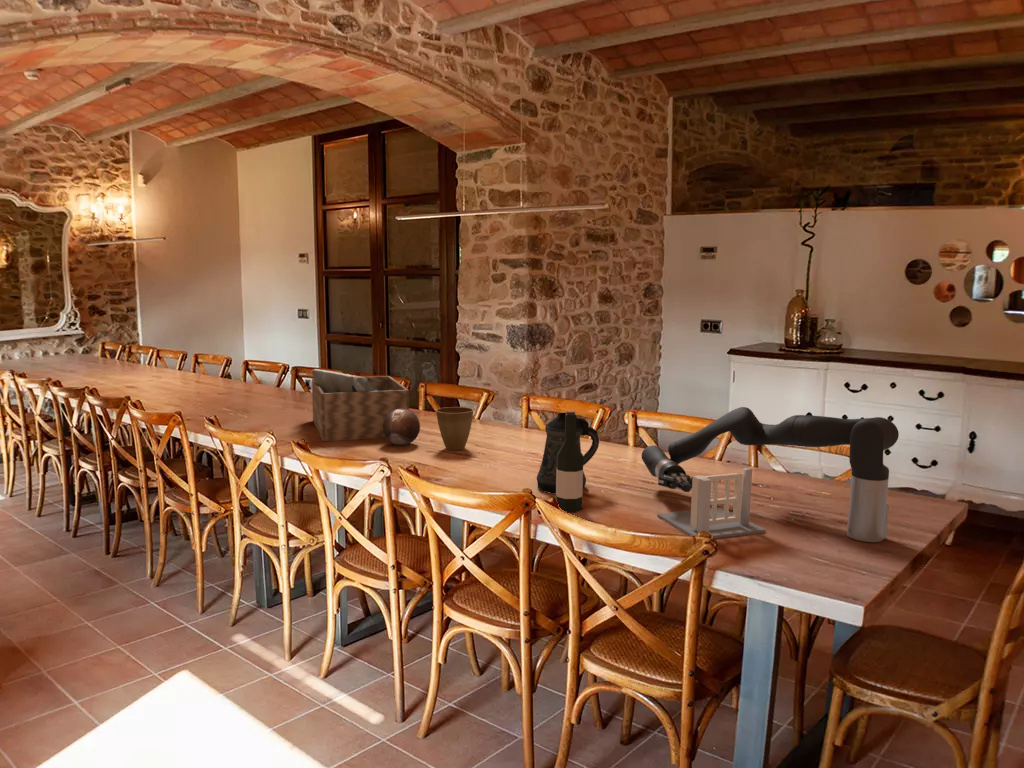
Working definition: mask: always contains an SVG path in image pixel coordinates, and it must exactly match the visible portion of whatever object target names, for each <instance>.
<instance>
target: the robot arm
mask: <svg viewBox="0 0 1024 768" xmlns="http://www.w3.org/2000/svg"><path fill="white" fill-rule="evenodd" d="M728 432H729V433H730V434H731V436H732V437H733V438H734V440H735V441H736V442H737V443H739V444H740V445H742V446H765V445H767V446H769V445H772V446H773V445H776V446H794V447H804V448H824V447H825V448H826V447H835V446H849V460H848V461H849V465H850V468H851V476H850V487H849V488H850V489H849V490H850V491H849V504H848V515H847V518H848V519H847V529H846V535H847V537H849V538H850V539H852V540H855V541H859V542H865V543H880V542H882V541H883V540H885V539H887V534H888V524H889V511H890V505H889V504H888V503H887V500H888V499H887V498H888V490H889V489H888V488H889V479H890V469H889V467H888V466H886V465H885V464H884V451H886V450H888V449H891V448H893V446H894V445H895V444H896V443H897V441H898V439H899V433H900V432H899V430H898V427H897V426H896V424H895V423H893V422H892V421H891V420H890V419H888V418H885V417H883V416H882V417H879V416H875V417H869V418H865V417H864V418H842V417H841V418H840V417H831V416H823V415H822V416H820V415H808V414H805V415H804V414H795V415H792V416H789V417H787V418H785V419H784V420H782V421H781V422H780V423H777V424H766V423H762V422H760V420H759V419H758V417H756V415H755V413H754V412H753V411H752V410H751V409H750V408H749V407H746V406H745V407H744V406H741V407H737V408H735V409H733V410H731V411H728V412H727V413H725V414H724V415H722V416H721V417H719V418H718V419H715V420H714V421H712V422H711V423H709V424H708V425H706V426H704V427H702V428H701V429H699V430H697V431H696V432H694V433H692V434H689V435H688V436H684V437H683V438H680V439H678V440H675V441H673V442H671V443H669V445H668V446H667V451H668V454H669V457H670V458H669V457H668V456H667V455H666V453H665V452H664V450H663V449H662V448H661V447H660V446H658V445H648V446H646V447H645V448H644V449H643V450H642V452H641V460H642V461H643V464H644V466H645V467H646V468H647V470H648V472H649V473H650V475H651V476H652V477H654V478H657V483H658V484H657V485H658V486H661V487H665V488H667V489H670V490H675V489H678V490H681V491H683V492H684V493H689V492H690V491H692V479H693V476H692V477H691V476H690V475H689V474H687V473H686V471H685V469H684V468H683V467H682V466H681V465H680V464H681V463H684V462H687V461H688V460H691V459H693V458H696V457H698V456H699V455H701V454H702V453H704V452H705V450H706V449H707V448H708V447H709V446H710V444H711V443H712V442H713V440H715V439H716V438H717V437H718V436H720V435H722V434H725V433H728Z"/></svg>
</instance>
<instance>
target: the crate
mask: <svg viewBox="0 0 1024 768" xmlns="http://www.w3.org/2000/svg"><path fill="white" fill-rule="evenodd" d="M364 377H365V378H367V377H368V378H369V380H370V384H371V385H372V387H373V388H374V390H377V391H367V392H342V393H324V392H323V391H322V389H321V388H320V386H319V385H318V384H316V383H315V382H314V380H313V378H311V389H312V391H311V398H312V399H311V400H312V422H313V424H314V426H315V429H316V431H317V432H318V435H319V436H320V439H321V441H322V442H332V441H333V442H335V441H348V440H350V441H351V440H366V439H367V440H368V439H383V438H386V436H385V434H384V431H383V423H384V420H385V418H386V416H387V415H388V414H389V413H390V412H391V411H393V410H395V409H400V408H403V409H408V410H410V398H409V397H410V395H409V394H410V393H409V389H408V388H407V387H405V386H404V385H402V384H401V383H400V382H398V381H397V380H396V379H395V378H394V377H391V376H390V375H378V376H377V375H375V376H364ZM389 390H391V391H389Z"/></svg>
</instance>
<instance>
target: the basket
mask: <svg viewBox="0 0 1024 768" xmlns="http://www.w3.org/2000/svg"><path fill="white" fill-rule="evenodd" d="M365 377H367V378H365ZM368 377H369V376H358V375H354V374H353V375H352V374H349V373H348V374H347V373H343V372H339V371H332V370H326V369H319V368H314V369H312V379H313V380H314V382H315V383H316V384H318V385H319V386H320V388H321V389H322V391H323V392H324V393H342V392H367V391H377V390H374V388H373V387H372V385H371V384H370V380H369V378H368ZM389 391H391V390H389Z"/></svg>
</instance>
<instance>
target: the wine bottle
mask: <svg viewBox="0 0 1024 768" xmlns="http://www.w3.org/2000/svg"><path fill="white" fill-rule="evenodd" d="M566 413H567V414H565V442H564V443H563V445H562V446H561V448H560V450H559V451H558V453H557V468H556V494H555V501H556V500H557V502H558V504H559V507H560V508H561V509H562V510H564V511H567V512H566V513H578V512H580V510H581V511H582V510H583V491H584V490H583V472H584V466H583V456H584V455H583V453H582V450H581V451H580V449H579V447H578V445H577V443H576V417H577V414H576V411H574V410H567V411H566ZM577 511H578V512H577Z"/></svg>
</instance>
